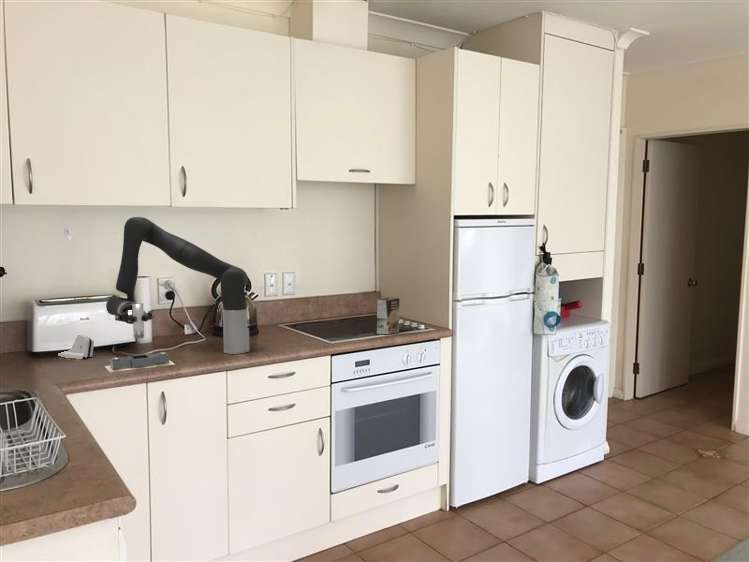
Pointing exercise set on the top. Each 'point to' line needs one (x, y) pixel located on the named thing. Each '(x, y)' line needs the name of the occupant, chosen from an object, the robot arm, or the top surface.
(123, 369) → the board
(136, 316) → the link pin
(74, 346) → the hinge
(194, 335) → the top surface
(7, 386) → the top surface
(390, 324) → the coffee box
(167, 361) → the grey notched block
